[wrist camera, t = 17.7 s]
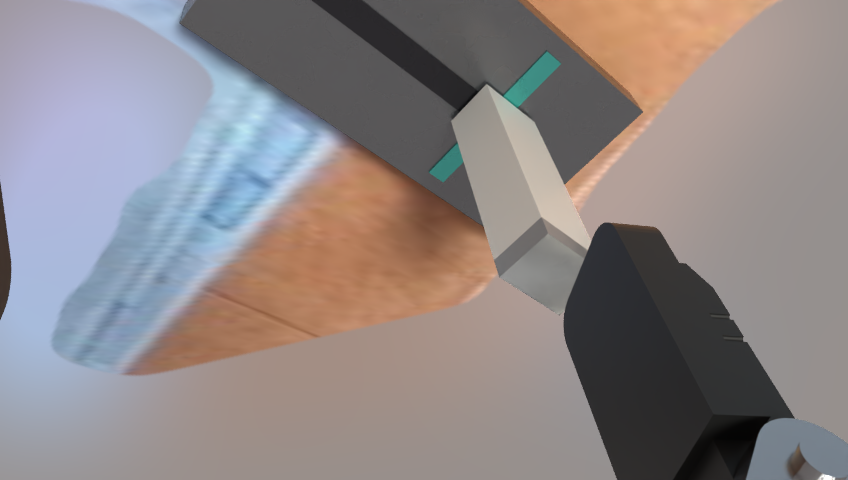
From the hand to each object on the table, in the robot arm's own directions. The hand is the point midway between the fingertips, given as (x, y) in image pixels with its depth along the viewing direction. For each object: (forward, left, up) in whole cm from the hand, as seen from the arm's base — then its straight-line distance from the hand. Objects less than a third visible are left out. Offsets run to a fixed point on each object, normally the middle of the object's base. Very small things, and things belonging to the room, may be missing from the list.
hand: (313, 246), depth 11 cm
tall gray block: (+13, -14, -31) cm, 37 cm away
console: (+8, -12, -34) cm, 37 cm away
